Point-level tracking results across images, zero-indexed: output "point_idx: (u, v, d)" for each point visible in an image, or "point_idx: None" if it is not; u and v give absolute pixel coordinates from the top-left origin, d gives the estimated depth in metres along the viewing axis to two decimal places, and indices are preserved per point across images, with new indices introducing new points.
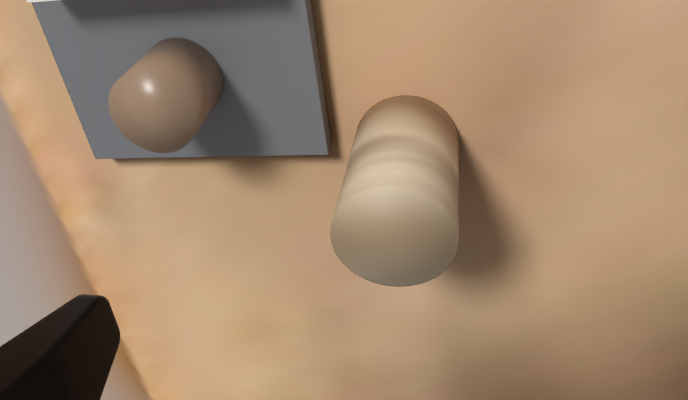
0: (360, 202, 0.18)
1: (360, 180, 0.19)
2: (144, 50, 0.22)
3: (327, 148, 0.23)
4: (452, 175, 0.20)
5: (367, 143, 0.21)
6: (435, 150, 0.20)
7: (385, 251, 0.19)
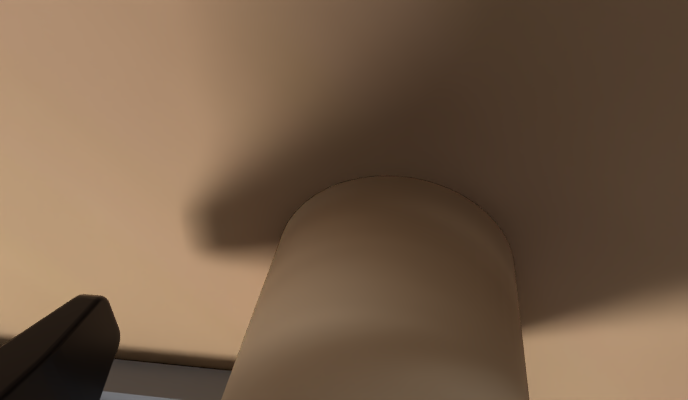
0: None
1: None
2: None
3: None
4: (283, 379, 0.06)
5: None
6: (240, 371, 0.07)
7: None
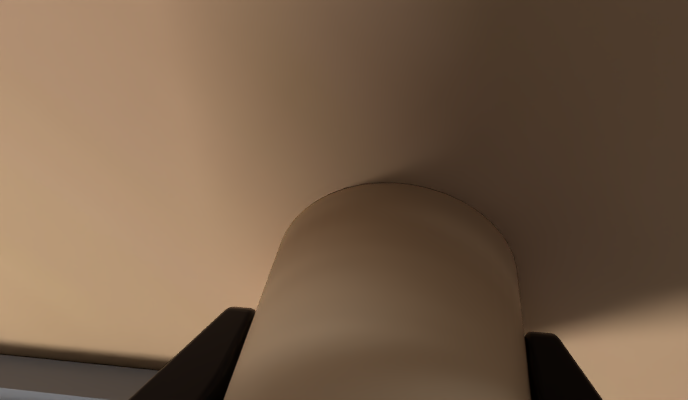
0: None
1: None
2: None
3: None
4: (282, 394, 0.06)
5: None
6: (239, 383, 0.07)
7: None
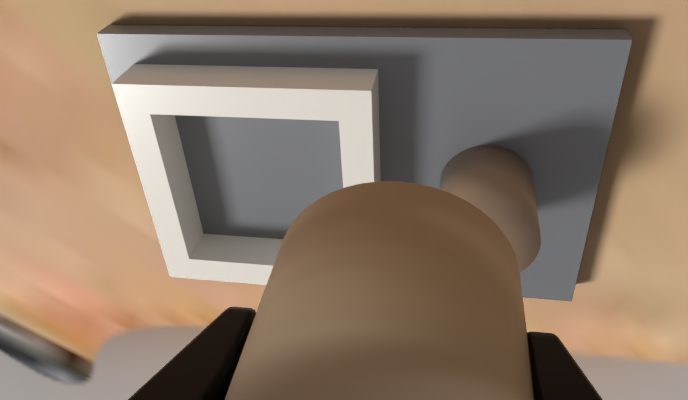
0: None
1: None
2: None
3: (622, 38, 0.17)
4: (284, 393, 0.06)
5: None
6: (239, 382, 0.07)
7: None
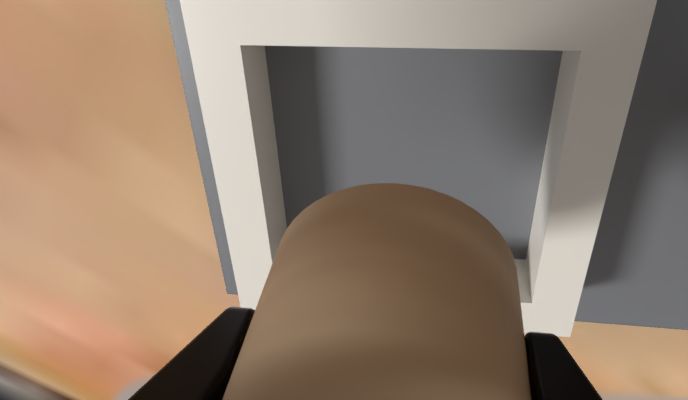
0: None
1: None
2: None
3: None
4: (280, 396, 0.06)
5: None
6: (236, 384, 0.07)
7: None
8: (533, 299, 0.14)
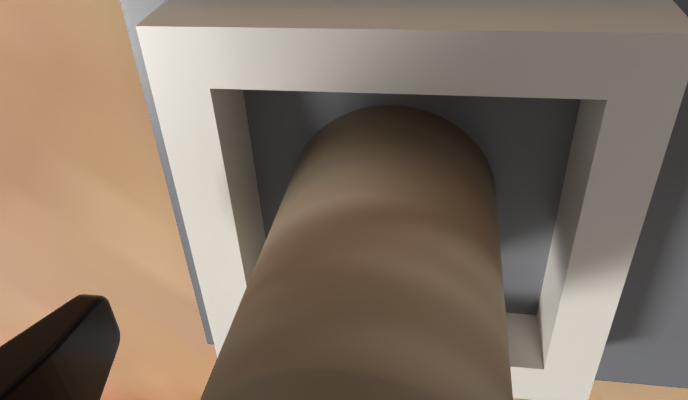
0: None
1: None
2: None
3: None
4: (305, 238, 0.08)
5: None
6: (270, 244, 0.09)
7: None
8: (546, 365, 0.12)
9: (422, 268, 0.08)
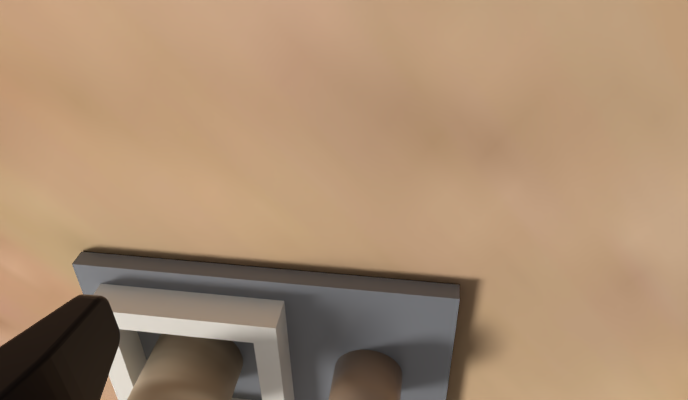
0: None
1: None
2: None
3: (453, 296, 0.23)
4: (139, 394, 0.24)
5: None
6: (131, 392, 0.24)
7: None
8: None
9: None
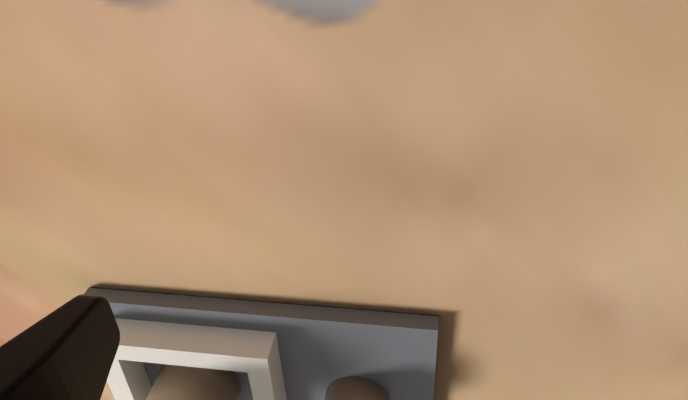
0: None
1: None
2: None
3: (432, 328, 0.25)
4: None
5: None
6: None
7: None
8: None
9: None
